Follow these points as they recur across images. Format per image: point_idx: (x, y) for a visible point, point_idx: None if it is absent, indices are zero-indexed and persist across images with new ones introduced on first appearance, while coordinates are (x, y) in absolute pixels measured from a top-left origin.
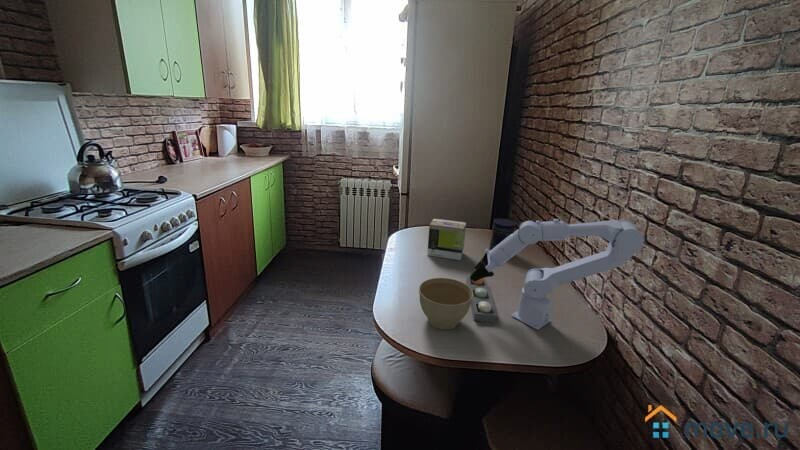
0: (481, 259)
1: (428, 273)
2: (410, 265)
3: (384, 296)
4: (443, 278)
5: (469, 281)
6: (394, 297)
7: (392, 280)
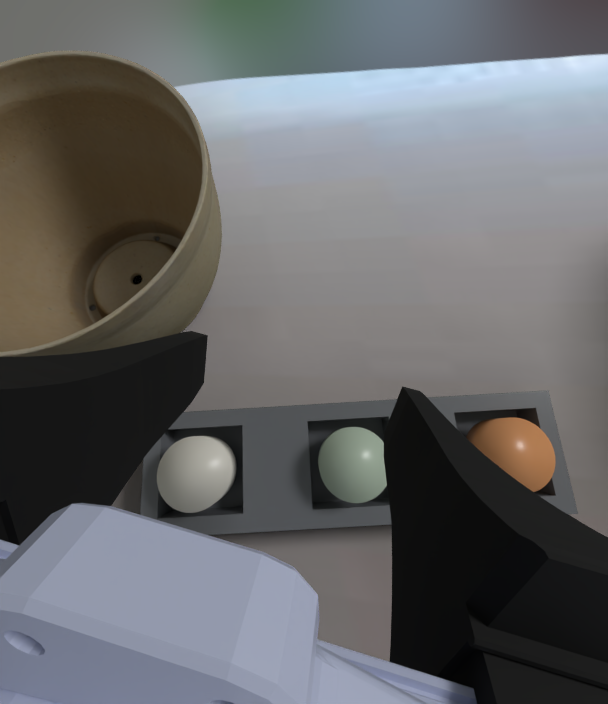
0: (472, 453)
1: (544, 213)
2: (592, 134)
3: (284, 84)
4: (202, 165)
5: (488, 403)
6: (285, 114)
7: (417, 90)
